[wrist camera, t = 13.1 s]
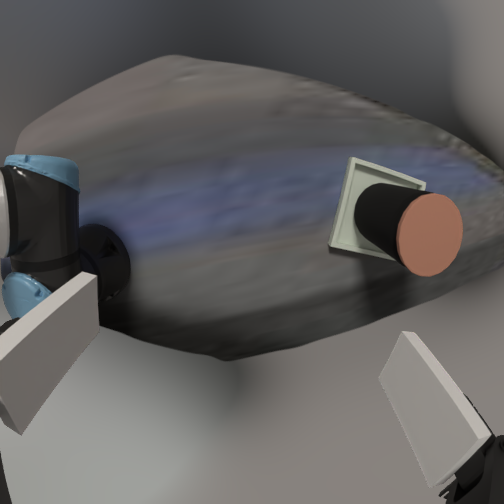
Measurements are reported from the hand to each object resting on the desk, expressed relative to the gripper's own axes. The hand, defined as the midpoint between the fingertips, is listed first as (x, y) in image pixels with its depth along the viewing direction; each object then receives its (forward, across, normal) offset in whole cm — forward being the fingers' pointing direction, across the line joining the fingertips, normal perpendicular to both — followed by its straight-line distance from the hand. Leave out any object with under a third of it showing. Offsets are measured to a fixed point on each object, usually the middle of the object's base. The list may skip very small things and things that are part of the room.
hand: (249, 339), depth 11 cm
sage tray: (+39, +22, +4) cm, 45 cm away
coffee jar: (+38, +22, +4) cm, 44 cm away
